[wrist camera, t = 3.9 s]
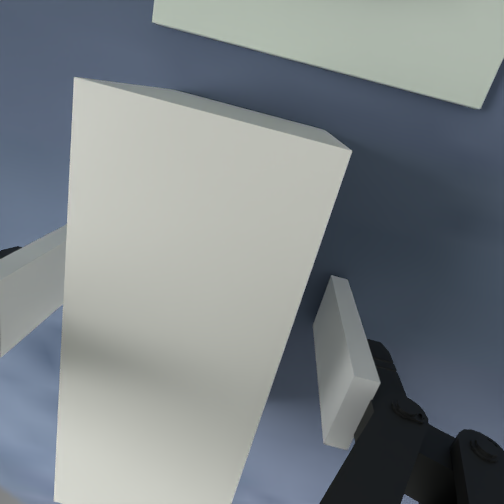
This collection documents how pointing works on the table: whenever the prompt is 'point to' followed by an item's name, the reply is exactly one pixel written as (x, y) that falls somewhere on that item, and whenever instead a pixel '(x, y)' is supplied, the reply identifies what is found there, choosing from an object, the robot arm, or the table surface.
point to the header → (363, 38)
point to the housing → (179, 287)
